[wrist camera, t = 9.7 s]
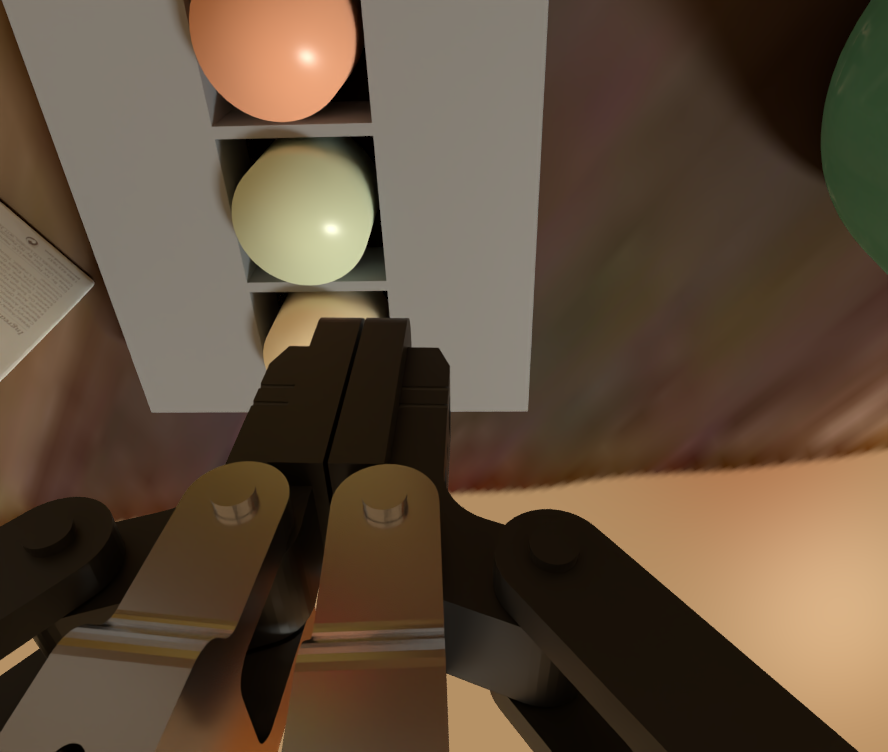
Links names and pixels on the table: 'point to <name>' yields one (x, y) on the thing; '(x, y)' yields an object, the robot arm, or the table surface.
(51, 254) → the small box
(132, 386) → the table surface
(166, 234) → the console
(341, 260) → the button sage
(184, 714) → the robot arm
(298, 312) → the button cream
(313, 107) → the button terracotta
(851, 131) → the mug
